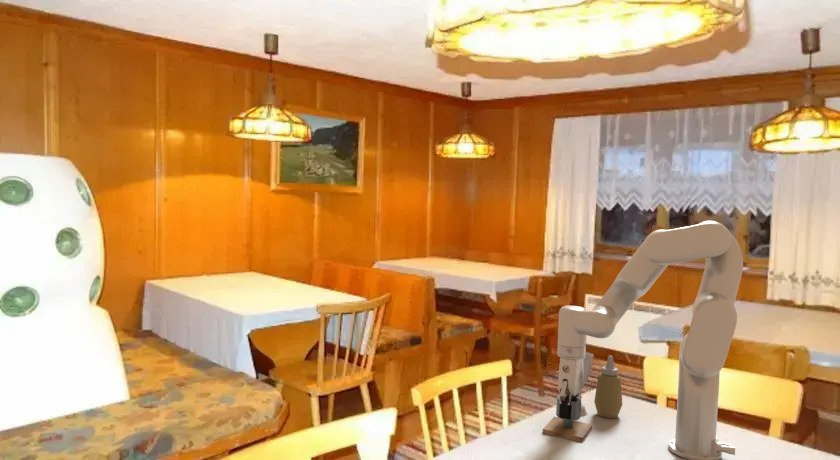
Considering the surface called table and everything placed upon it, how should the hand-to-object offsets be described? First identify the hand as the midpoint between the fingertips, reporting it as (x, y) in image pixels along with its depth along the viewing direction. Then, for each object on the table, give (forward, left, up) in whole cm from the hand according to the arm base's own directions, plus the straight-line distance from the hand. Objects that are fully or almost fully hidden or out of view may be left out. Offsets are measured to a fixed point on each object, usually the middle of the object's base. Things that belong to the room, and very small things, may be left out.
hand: (568, 413), depth 168 cm
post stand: (0, 0, -5) cm, 5 cm away
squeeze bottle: (-7, -19, -5) cm, 21 cm away
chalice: (+1, -16, -5) cm, 17 cm away
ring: (0, 0, -1) cm, 1 cm away
